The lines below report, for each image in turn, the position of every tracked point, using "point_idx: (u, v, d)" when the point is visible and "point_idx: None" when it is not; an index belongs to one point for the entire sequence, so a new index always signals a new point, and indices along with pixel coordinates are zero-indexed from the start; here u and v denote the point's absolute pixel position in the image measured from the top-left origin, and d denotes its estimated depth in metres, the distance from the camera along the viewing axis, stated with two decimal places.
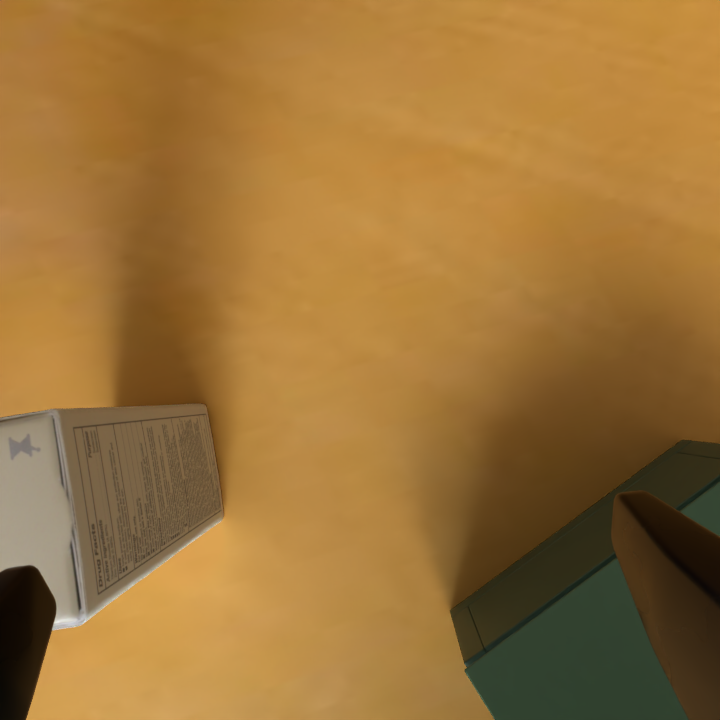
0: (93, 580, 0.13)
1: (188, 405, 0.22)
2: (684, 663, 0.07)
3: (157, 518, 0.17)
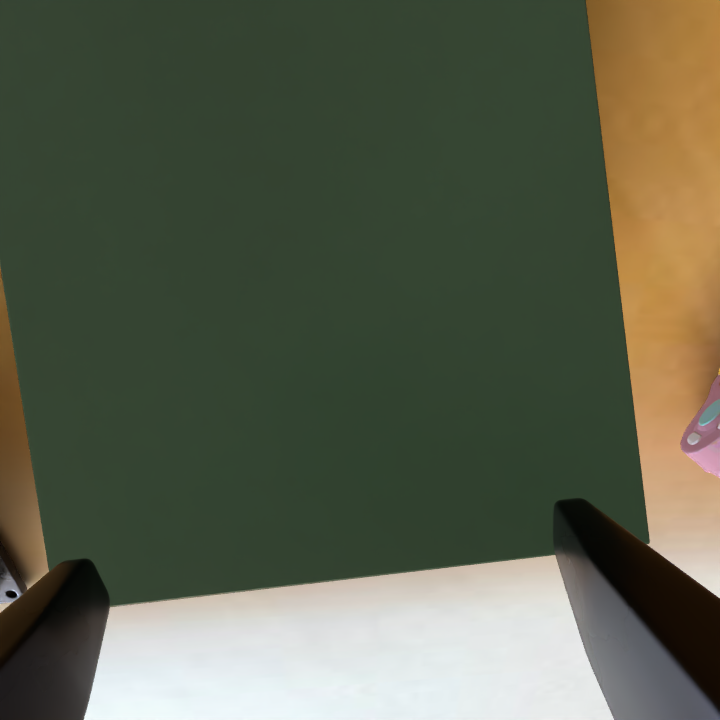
0: None
1: None
2: (611, 671, 0.07)
3: None
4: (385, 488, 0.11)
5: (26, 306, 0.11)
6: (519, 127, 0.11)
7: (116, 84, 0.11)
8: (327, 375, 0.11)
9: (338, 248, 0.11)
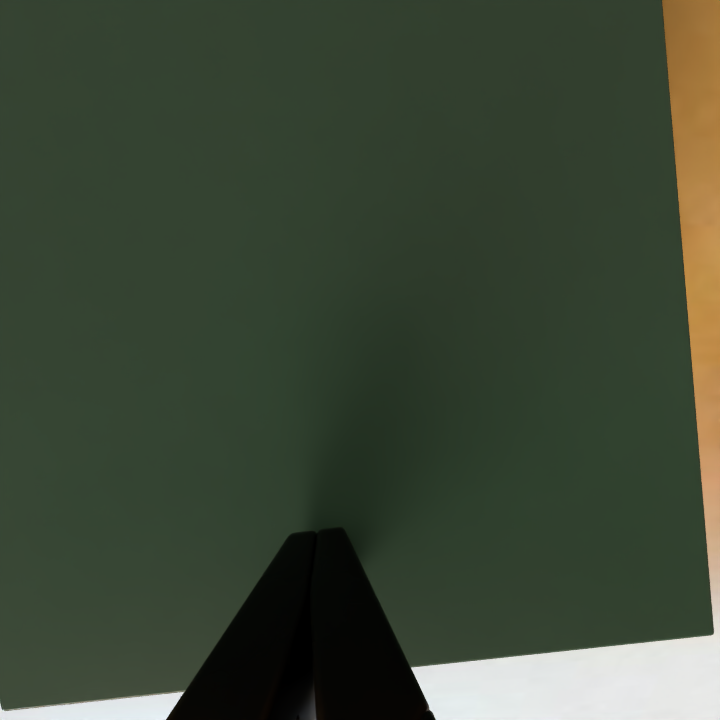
0: None
1: None
2: None
3: None
4: (394, 569, 0.09)
5: None
6: (567, 122, 0.08)
7: (49, 65, 0.08)
8: (323, 434, 0.09)
9: (335, 276, 0.09)
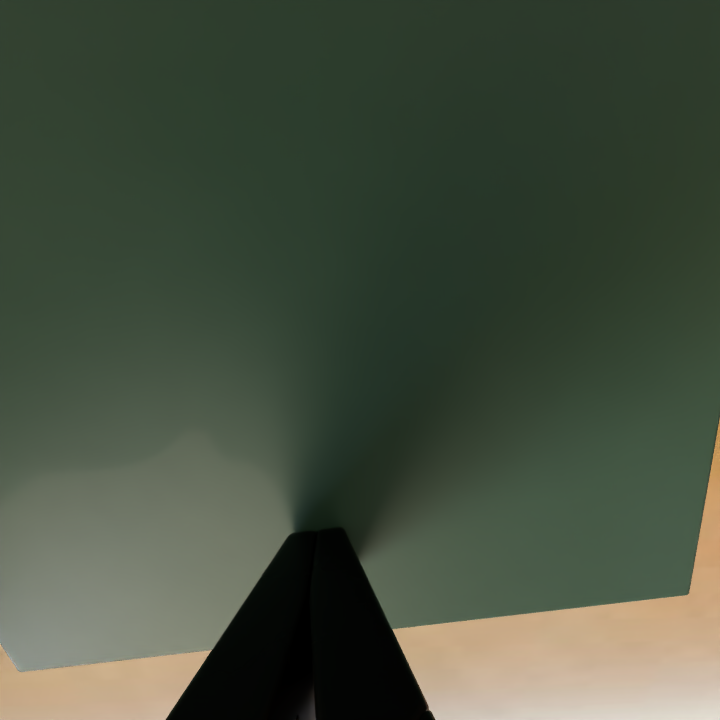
0: None
1: None
2: None
3: None
4: (391, 559, 0.09)
5: None
6: (638, 79, 0.06)
7: None
8: (314, 446, 0.08)
9: (323, 282, 0.07)
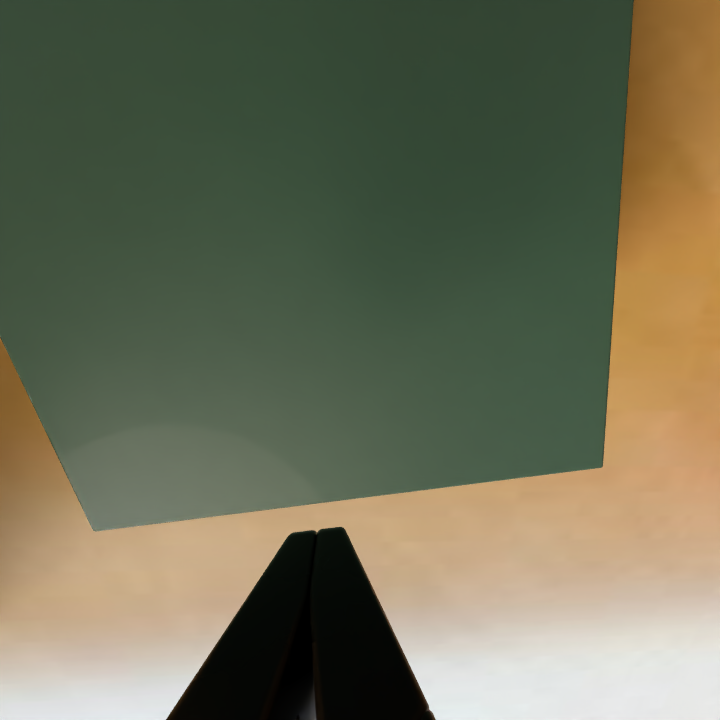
0: None
1: None
2: None
3: None
4: (377, 434, 0.12)
5: None
6: (535, 77, 0.09)
7: (37, 12, 0.08)
8: (320, 342, 0.11)
9: (327, 218, 0.10)
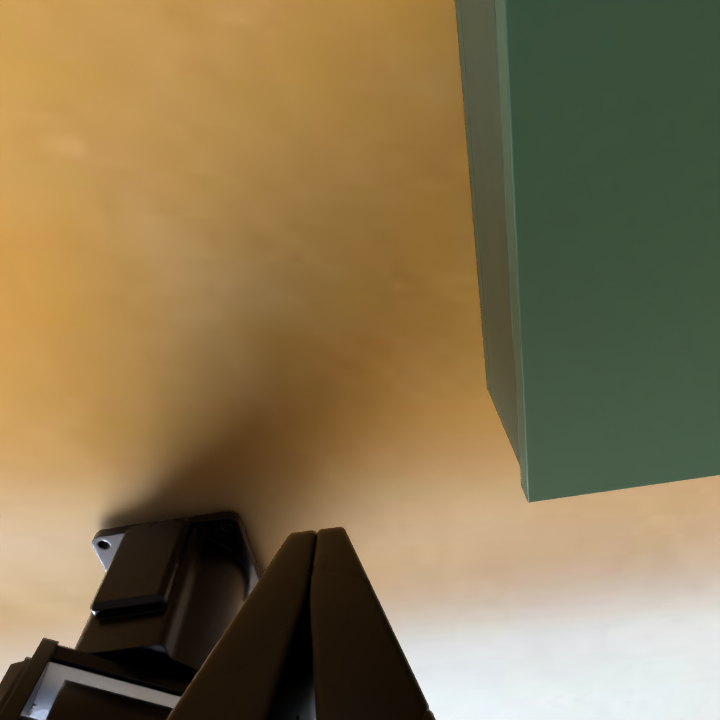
0: None
1: None
2: None
3: None
4: None
5: (535, 322, 0.15)
6: None
7: (638, 148, 0.13)
8: None
9: None
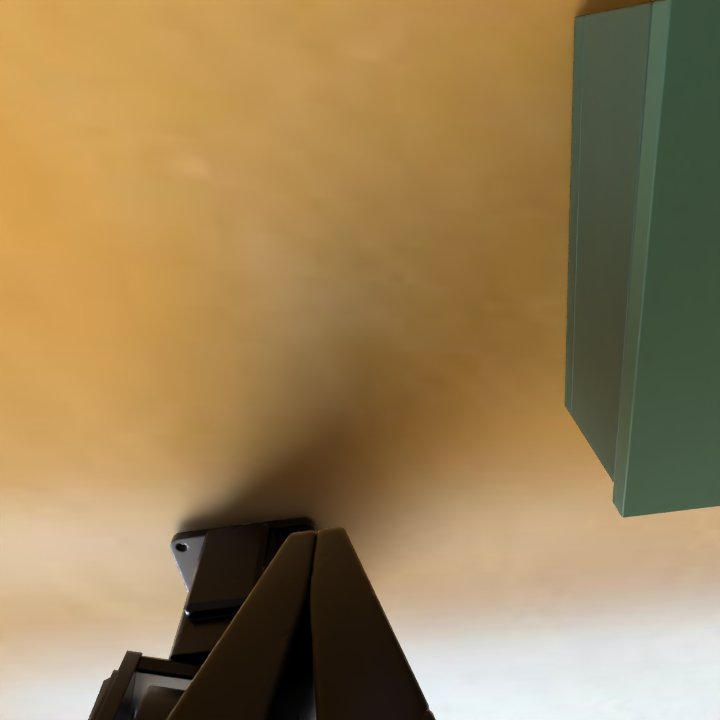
0: None
1: None
2: None
3: None
4: None
5: (652, 350, 0.16)
6: None
7: None
8: None
9: None
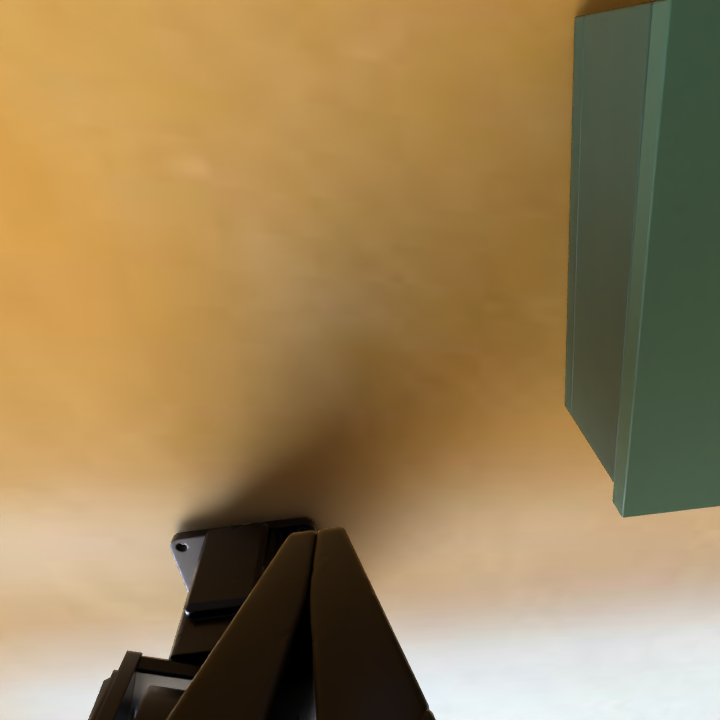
0: None
1: None
2: None
3: None
4: None
5: (652, 350, 0.16)
6: None
7: None
8: None
9: None
